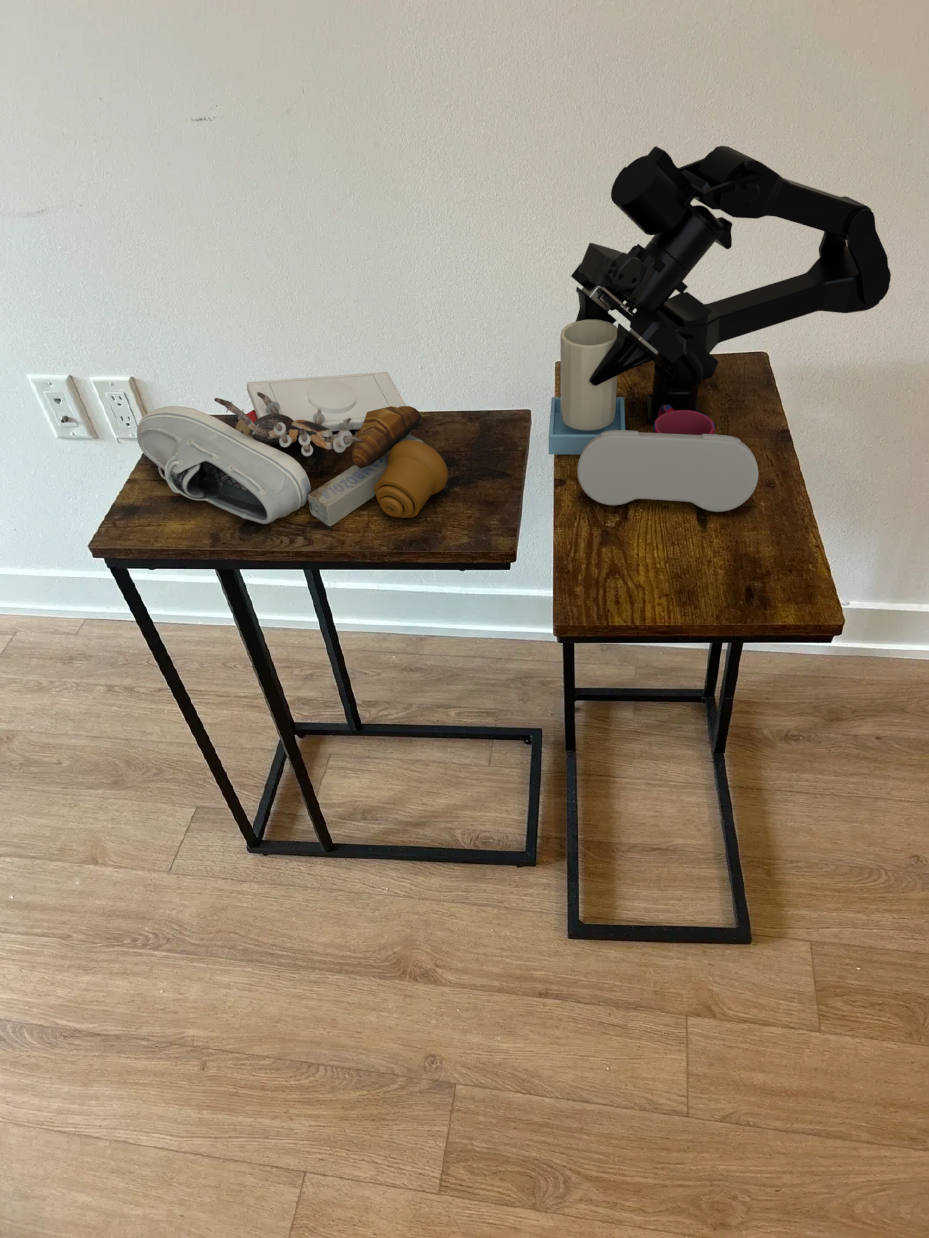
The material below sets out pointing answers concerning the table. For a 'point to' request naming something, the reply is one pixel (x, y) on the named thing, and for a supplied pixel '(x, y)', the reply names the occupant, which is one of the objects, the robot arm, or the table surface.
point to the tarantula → (293, 428)
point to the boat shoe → (222, 464)
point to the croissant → (383, 432)
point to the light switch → (328, 397)
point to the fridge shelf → (574, 439)
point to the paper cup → (586, 375)
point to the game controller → (668, 469)
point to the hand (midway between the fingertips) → (578, 370)
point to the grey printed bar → (348, 490)
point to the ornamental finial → (410, 478)
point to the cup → (682, 422)
